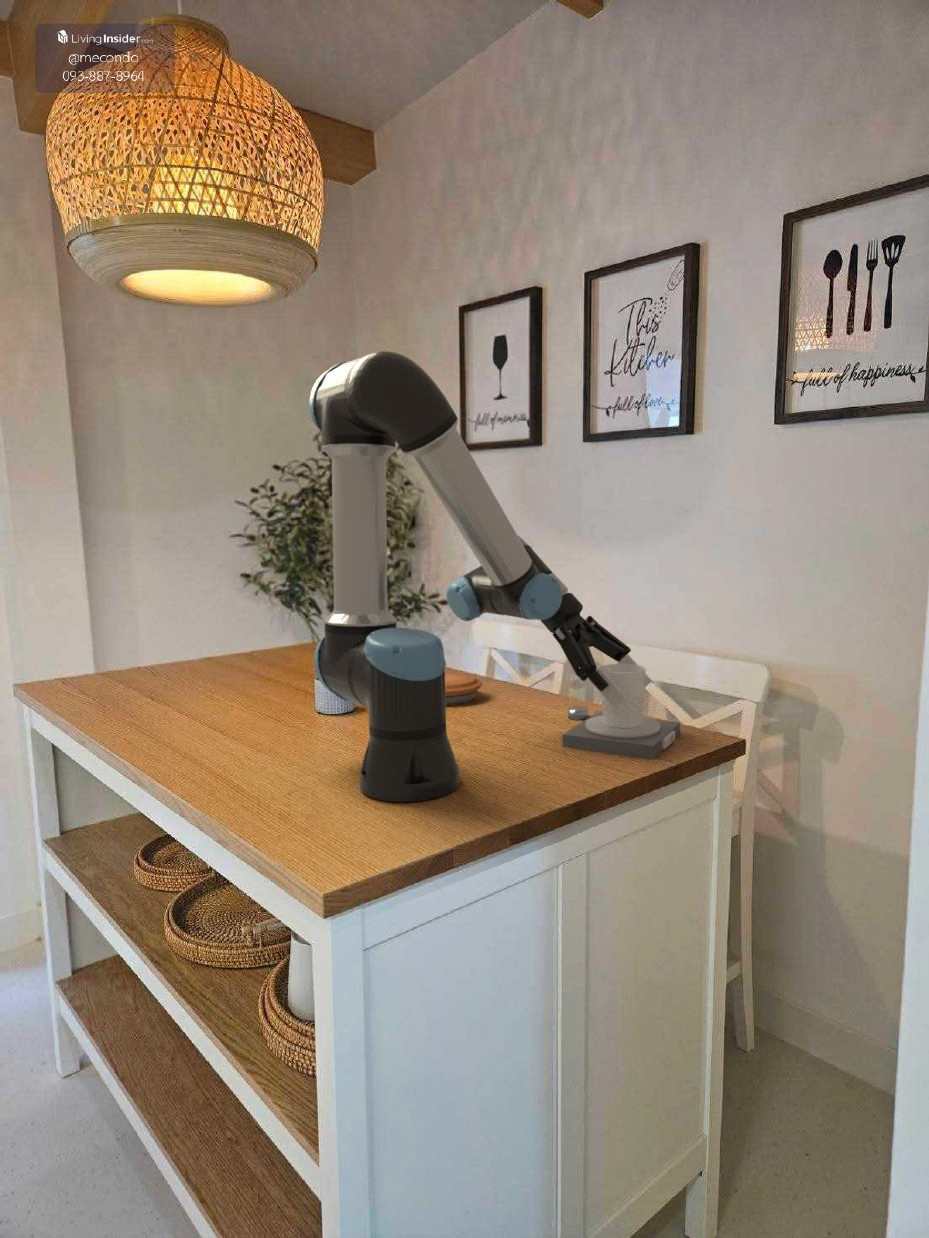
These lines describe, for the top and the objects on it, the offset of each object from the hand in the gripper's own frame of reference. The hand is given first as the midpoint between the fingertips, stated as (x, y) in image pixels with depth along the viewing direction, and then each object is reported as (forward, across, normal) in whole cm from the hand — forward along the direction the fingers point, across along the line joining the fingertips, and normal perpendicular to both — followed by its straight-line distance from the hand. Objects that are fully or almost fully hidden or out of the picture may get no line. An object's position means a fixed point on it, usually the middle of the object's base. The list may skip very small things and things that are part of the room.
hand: (634, 694), depth 142 cm
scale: (+5, 0, -8) cm, 9 cm away
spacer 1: (-4, -11, -17) cm, 21 cm away
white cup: (+3, 0, -6) cm, 6 cm away
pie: (-27, -14, -40) cm, 50 cm away
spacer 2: (0, -10, -13) cm, 16 cm away
